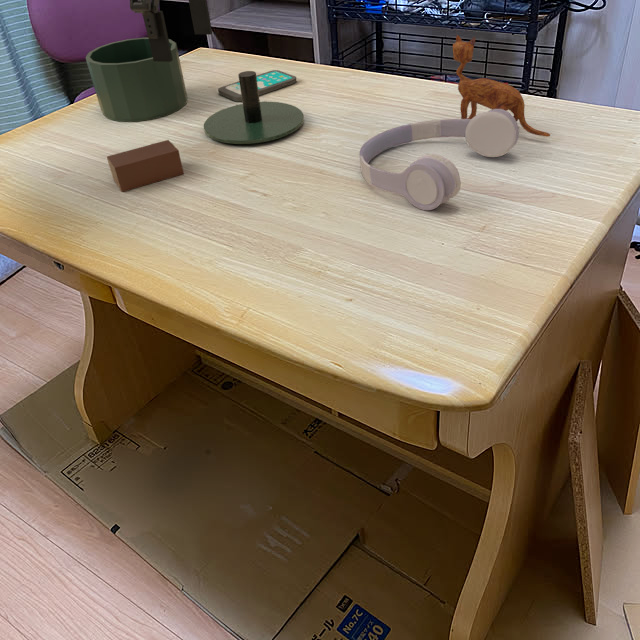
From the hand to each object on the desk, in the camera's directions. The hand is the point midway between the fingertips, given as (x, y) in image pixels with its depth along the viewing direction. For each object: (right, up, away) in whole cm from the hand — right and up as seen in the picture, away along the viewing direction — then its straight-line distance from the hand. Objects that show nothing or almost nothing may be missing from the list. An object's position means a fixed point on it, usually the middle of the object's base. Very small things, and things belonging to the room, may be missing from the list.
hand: (184, 46), depth 94 cm
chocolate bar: (-6, -19, +4) cm, 20 cm away
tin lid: (+9, -6, +16) cm, 20 cm away
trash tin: (-14, +1, +29) cm, 32 cm away
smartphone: (+8, +6, +32) cm, 34 cm away
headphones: (+37, -19, -1) cm, 41 cm away
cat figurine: (+49, -11, +8) cm, 51 cm away
